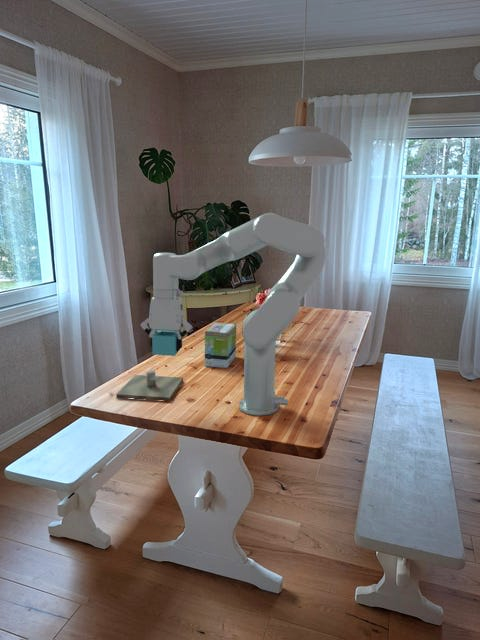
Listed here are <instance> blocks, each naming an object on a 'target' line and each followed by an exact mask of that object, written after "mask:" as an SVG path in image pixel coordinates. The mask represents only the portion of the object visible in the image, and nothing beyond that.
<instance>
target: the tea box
mask: <svg viewBox="0 0 480 640" xmlns="http://www.w3.org/2000/svg"><path fill="white" fill-rule="evenodd" d="M236 353H237V324H235V323H224V322H223V323H221V322H214V323H212V325H210V326H209V327H208V328H207V329H206V330H204V366H205V367H211V368H212V367H213V368H221V369H224V368H225V369H227V368H228V367H229V366H230V365H231V363H232V362H233V361H234V359H235V358H236Z"/></svg>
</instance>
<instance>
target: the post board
mask: <svg viewBox="0 0 480 640" xmlns="http://www.w3.org/2000/svg"><path fill="white" fill-rule="evenodd" d="M145 372H146V374H145V375H141V374H135V375H133V376H132V377H131V378H130V380H128V381H127V382H126V384H125V385H124V386H122V387H121V389H120V390H119V391H118V392H117V393H116V394H115V396H116V399H117V398H134V399H146V400H145V401H149V400H164V401H163V402H165V401H170V400H172V399H173V398H174V396H175V394H176V393H177V391H178V390H179V388H180V387H181V386H182V384H183V382H184V377H180V376H179V377H178V376H177V377H176V376H163V375H160V376H159V375H156V371H155V370H147V371H145ZM181 383H182V384H181ZM179 386H180V387H179ZM177 389H178V390H177ZM175 392H176V393H175ZM173 395H174V396H173ZM172 397H173V398H172ZM171 398H172V399H171ZM170 402H171V401H170Z"/></svg>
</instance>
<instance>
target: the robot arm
mask: <svg viewBox="0 0 480 640" xmlns="http://www.w3.org/2000/svg"><path fill="white" fill-rule="evenodd" d="M325 241H326V240H325V235H324V233H323V232H322V230H321V229H320V228H318V227H316V226H315V225H312V224H306V223H302V222H300V221H296V220H293V219H290V218H287V217H284V216H281V215H279V214H276V213H274V212H266V213H263V214H261V215H259V216H256V217H254V219H251V220H249V221H246V222H245V223H243V224H241V225H239V226H236V227H235V228H232V229H231V230H229V231H226V232H225V233H224V234H222V235H220V236H219V237H218V238H216V239H215V240H213V241H211V242H208V243H207V244H205V245H203V246H201V247H199V248H197V249H194V250H192V251H190V252H188V253H187V252H186V253H185V254H180V255H179V254H178V255H177V254H176V253H175V252H174V253H173V252H157V253H155V254H154V255H153V256H152V257H153V258H152V271H153V273H152V281H153V285H152V286H153V288H152V289H153V292H152V293H153V296H152V297H151V298H150V305H149V315H148V317H147V318H146V319H145V320H144V321H143V322H141V323H140V325H139V326H140V327H141V328H142V330H144V332H145V333H146V334H147V335H148V337H149V338H150V347H151V348H152V336H153V335H154V334H155V333H156V332H157V331H158V330H162V331H174V332H175V334H176V336H177V340H176V351H177V353H179V351H180V350H181V349H182V348H183V338H184V337H185V336H186V335H187V334H188V332H190V330H192V328H193V325H191V323H189V322H188V321H187V320H186V319H185V317H184V308H183V301H182V297H180V296H183V295H184V291H183V290H180V288H179V279H180V280H186V281H192V280H196V279H197V278H198V277H199V276H201V275H202V274H204V273H206V272H208V271H210V270H212V269H213V268H214V269H215V268H216V267H219V266H220V265H223V264H225V263H228V262H232V261H233V262H234V261H237V260H239V259H242V258H244V257H246V256H248V255H250V254H252V253H254V252H256V251H258V250H260V249H262V248H266V247H267V246H269V247H271V248H275V249H277V250H281V251H283V252H286V253H289V254H293V255H296V256H295V259H294V261H293V262H292V264H291V265H290V266H289V267H288V269H287V270H286V272H285V273H284V274H283V275H282V277H281V278H280V279H279V280H278V281H277V283H275V285H273V287H271V289H270V290H269V292H268V293H267V297H266V299H265V300H264V301H263V302H262V304H261V305H260V306H259V307H258V308H257V309H254V310H253V311H252V312H251V311H250V312H251V313H250V314H249V315H248V314H247V315H248V316H246V318H245V320H244V323H243V327H242V337H243V341H244V356H243V357H244V358H243V359H244V361H243V362H244V365H243V367H244V369H243V374H244V375H243V398H242V399H240V400H239V402H238V408H239V410H240V411H241V412H243V413H245V414H247V415H251V416H267V415H272V414H275V412H277V411H278V410H279V405H281V406H288V405H289V399H288V398H285V396H282V395H281V396H278V395H276V390H275V371H276V369H275V368H276V343H277V339H278V338H279V337H280V336H281V335H282V333H283V332H284V331H285V330H286V329H287V327H288V326H289V325H290V324H291V323H292V321H294V319H295V318H296V317H297V315H298V313H299V311H300V308H301V300H302V299H303V298H304V297H305V295H306V294H307V293H308V291H309V290H310V289H311V288H312V286H313V285H314V283H316V282H317V280H318V278H319V277H320V275H321V273H322V272H323V269H324V266H325V262H326V247H325ZM183 327H185V329H184V330H183V331H182V330H181V329H182V328H183Z"/></svg>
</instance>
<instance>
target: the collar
mask: <svg viewBox="0 0 480 640" xmlns="http://www.w3.org/2000/svg"><path fill="white" fill-rule="evenodd" d="M176 340H177V336H176V334H175V332H174V331H162V330H157V332H156V333H155V334H154V335H153V336H152V347H151V350H152V351H151V352H152V355H153V356H154V355H156V356H167V357H168V356H171V357H176V355H177V354H178V352H177V351H176Z"/></svg>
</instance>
